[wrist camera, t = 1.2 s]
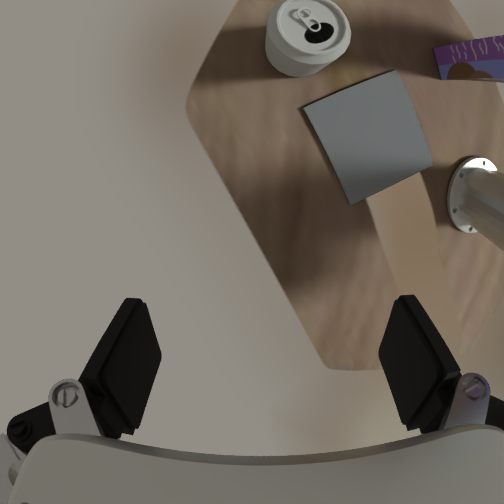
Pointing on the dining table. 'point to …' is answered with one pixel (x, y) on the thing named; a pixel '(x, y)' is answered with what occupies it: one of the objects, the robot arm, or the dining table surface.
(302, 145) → the dining table surface
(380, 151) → the mat
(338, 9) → the can
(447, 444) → the robot arm
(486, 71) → the cereal box
